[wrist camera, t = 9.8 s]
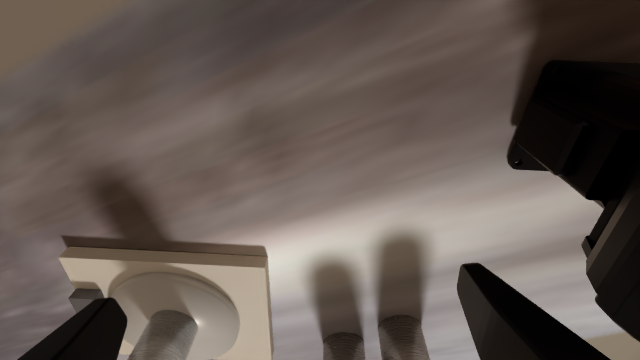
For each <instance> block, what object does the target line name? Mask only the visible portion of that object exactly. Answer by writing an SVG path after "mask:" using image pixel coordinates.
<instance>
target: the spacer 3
mask: <svg viewBox="0 0 640 360" xmlns="http://www.w3.org/2000/svg"><path fill="white" fill-rule="evenodd" d="M378 334H379V341H380V349H381V356H382V360H430V358H429V354H428V350H427V346H426V343H425V339H424V335H423V331H422V328H421V324H420V323H419V321H418V320H416V319H414V318H412V317H409V316H393V317H390V318H387V319H386V320H384V321H383V322H381V324H380V325H379V327H378Z"/></svg>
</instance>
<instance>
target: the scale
mask: <svg viewBox="0 0 640 360" xmlns="http://www.w3.org/2000/svg"><path fill="white" fill-rule="evenodd" d="M58 258H59V260H60V262H61V264H62V265H63V267H64V269H65V271H66V273H67V275H68V277H69V279H70V280H71V282H72V284H73V286H74V288H75V291H74V292H73V294H72V295H71V296H70V297H69V300H70V302H71V304H72V306H73V307H74V309H75V311H76V313H78V312H79V311H80V310H82V309H83V308H84V307H86V306H87V305H88V304H90V303H91V302H92V301H94V300H95V299H98V298H108V297H112V298H114V299H116V301H117V302H118V304H119V305H120V307H121V308H122V310H123V311H124V313H125V314H126V316H127V321H128V322H127V328H126V331H125V334H124V338H123V341H122V344H121V347H120V351H119V354H127V355H130V354H131V352H132V350H133V349H134V347H135V345H136V343H137V341H138V340H139V338H140V336H141V334H142V332H143V331H144V329H145V327H146V325H147V323H148V322H149V320H150V318H151V316H152V315H153V314H154V313H155V312H157V311H161V310H175V311H179V312H182V313H185V314H187V315H188V316H190V317H191V318H193V319H194V320H195V322H196V323H197V325H198V331H197V334H196V337H195V339H194V342H193V344H192V347H191V349H190V352H189V354H188V357H187V359H186V360H209V359H221V360H272V357H273V351H274V348H273V333H272V317H271V302H270V286H269V270H268V257H265V256H245V255H226V254H206V253H186V252H167V251H147V250H127V249H108V248H88V247H68V248H67V249H66V250H65V251H64V252H63V253H62V254H61V255H60V256H59V257H58Z"/></svg>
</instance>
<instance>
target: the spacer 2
mask: <svg viewBox="0 0 640 360" xmlns="http://www.w3.org/2000/svg"><path fill="white" fill-rule="evenodd" d="M323 360H365V349H364V342H363V340H362V339H361V338H360V337H358V336H357V335H354V334H351V333H336V334H333V335H331V336H329V337H327V338H326V339H325V341H324V345H323Z"/></svg>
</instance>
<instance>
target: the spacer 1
mask: <svg viewBox="0 0 640 360" xmlns="http://www.w3.org/2000/svg"><path fill="white" fill-rule="evenodd" d="M197 331H198V325H197V323H196V322H195V320H194V319H193V318H191V317H190V316H188V315H187V314H185V313H182V312H179V311H175V310H161V311H157V312H155V313H154V314H153V315H152V316H151V318H150V320H149V322H148V323H147V325H146V327H145V329H144V331H143V332H142V334H141V336H140V338H139V340H138V341H137V343H136V345H135V347H134V349H133V350H132V352H131V354H130V356H129V358H128V359H127V360H186V359H187V357H188V354H189V352H190V349H191V347H192V344H193V342H194V339H195V337H196V334H197Z"/></svg>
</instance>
